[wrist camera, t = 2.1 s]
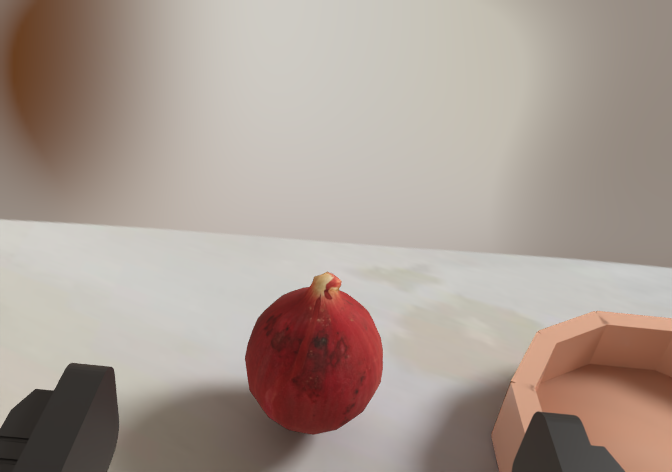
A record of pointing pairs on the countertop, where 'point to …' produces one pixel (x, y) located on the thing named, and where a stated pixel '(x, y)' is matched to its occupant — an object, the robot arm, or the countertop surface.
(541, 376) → the bowl
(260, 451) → the countertop surface
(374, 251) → the countertop surface
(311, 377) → the onion
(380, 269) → the countertop surface
